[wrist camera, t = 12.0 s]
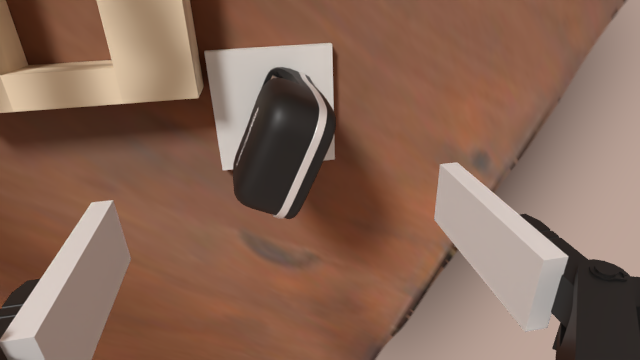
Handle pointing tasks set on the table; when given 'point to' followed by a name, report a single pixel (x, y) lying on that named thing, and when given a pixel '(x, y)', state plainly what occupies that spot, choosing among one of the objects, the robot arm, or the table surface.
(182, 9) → the holder block
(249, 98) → the white square tile
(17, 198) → the table surface
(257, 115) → the battery charger
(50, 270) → the robot arm
